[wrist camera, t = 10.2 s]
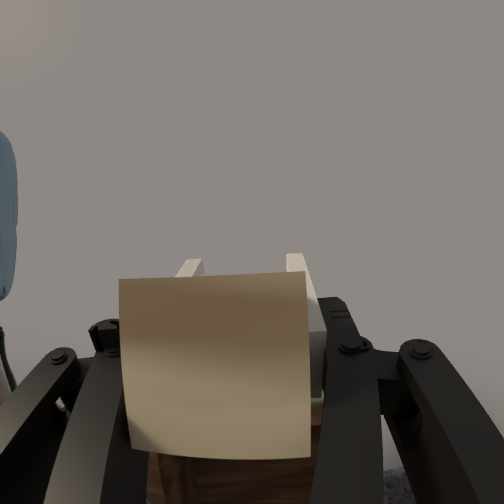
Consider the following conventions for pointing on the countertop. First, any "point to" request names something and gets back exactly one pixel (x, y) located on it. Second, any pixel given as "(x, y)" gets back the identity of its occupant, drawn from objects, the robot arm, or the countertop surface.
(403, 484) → the countertop surface
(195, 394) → the maple bar
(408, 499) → the countertop surface
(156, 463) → the walnut stand
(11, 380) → the beer bottle
